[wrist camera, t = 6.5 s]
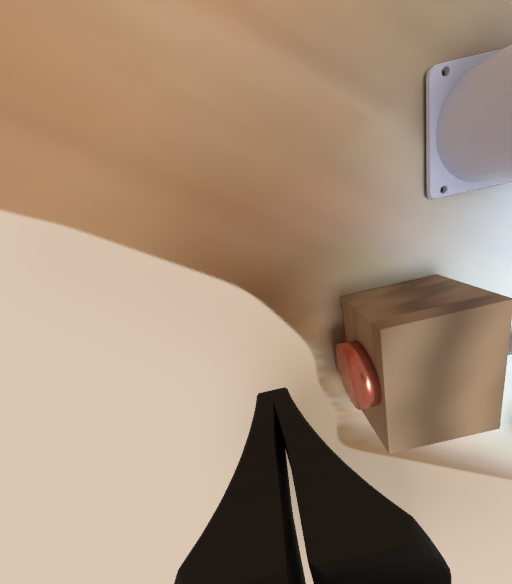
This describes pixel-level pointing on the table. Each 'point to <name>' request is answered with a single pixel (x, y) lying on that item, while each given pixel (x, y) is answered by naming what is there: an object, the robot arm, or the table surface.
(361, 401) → the pin
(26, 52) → the table surface
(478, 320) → the block
